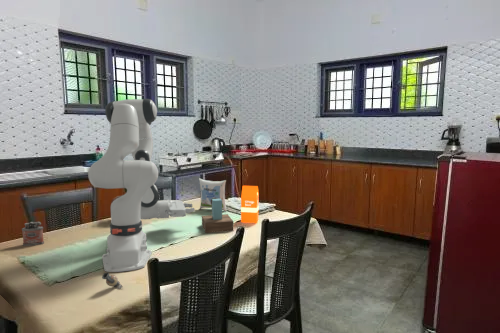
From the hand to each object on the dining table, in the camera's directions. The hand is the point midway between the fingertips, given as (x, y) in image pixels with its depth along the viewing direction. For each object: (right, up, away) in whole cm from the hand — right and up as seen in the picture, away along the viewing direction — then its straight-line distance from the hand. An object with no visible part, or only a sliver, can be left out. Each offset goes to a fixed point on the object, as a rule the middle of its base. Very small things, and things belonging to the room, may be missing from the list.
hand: (193, 207), depth 168 cm
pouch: (+5, -7, +41) cm, 42 cm away
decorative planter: (-41, -10, +18) cm, 46 cm away
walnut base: (+12, -11, +5) cm, 17 cm away
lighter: (-67, -14, -21) cm, 72 cm away
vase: (-16, -19, -61) cm, 66 cm away
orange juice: (+29, -10, +18) cm, 35 cm away
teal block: (+12, -6, +4) cm, 14 cm away
